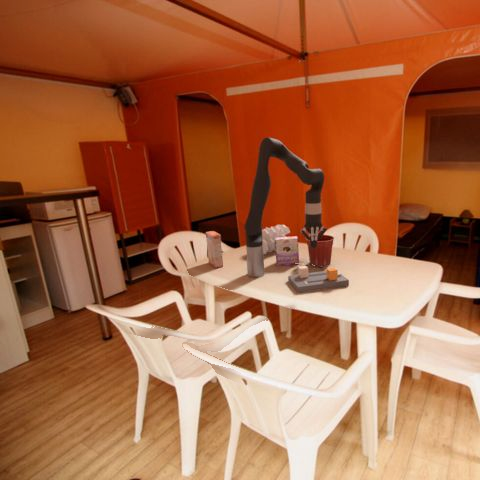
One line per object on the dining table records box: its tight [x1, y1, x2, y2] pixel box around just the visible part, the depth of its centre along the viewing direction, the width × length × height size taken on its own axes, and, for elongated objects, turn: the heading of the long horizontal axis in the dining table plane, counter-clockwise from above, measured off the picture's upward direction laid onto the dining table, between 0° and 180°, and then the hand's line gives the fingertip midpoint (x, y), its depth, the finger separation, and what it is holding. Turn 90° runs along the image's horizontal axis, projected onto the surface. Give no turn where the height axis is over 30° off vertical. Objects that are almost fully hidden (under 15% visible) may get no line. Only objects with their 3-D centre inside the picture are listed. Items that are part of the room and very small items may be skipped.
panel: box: [287, 270, 350, 294], centre depth 167 cm, size 26×16×4 cm, turn 99°
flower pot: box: [305, 234, 335, 268], centre depth 194 cm, size 16×16×16 cm
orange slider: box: [325, 267, 339, 281], centre depth 163 cm, size 4×4×5 cm
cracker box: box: [205, 230, 224, 269], centre depth 208 cm, size 14×6×21 cm, turn 22°
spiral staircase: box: [262, 224, 291, 255], centre depth 227 cm, size 18×18×25 cm
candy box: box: [275, 235, 300, 266], centre depth 199 cm, size 14×6×16 cm, turn 84°
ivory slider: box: [297, 265, 309, 278], centre depth 169 cm, size 4×4×5 cm
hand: (313, 247), depth 158 cm, fingers closed
